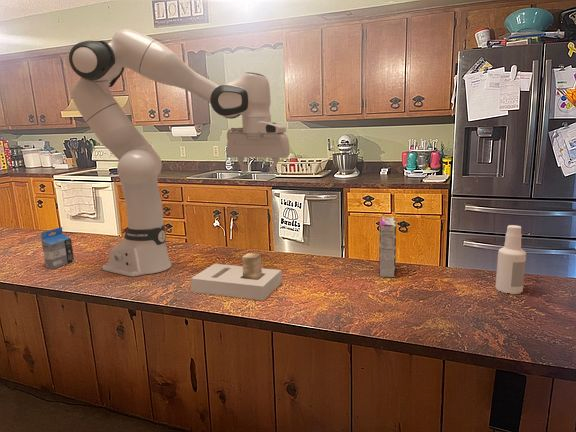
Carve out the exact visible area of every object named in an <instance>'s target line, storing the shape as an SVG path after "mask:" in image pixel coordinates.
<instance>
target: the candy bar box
mask: <svg viewBox="0 0 576 432" xmlns="http://www.w3.org/2000/svg"><path fill="white" fill-rule="evenodd" d="M378 236H379V240H378V244H379V245H378V263H379V264H378V268H379V269H378V273H379V278H392V277H394V278H396V261H397V260H396V257H397V256H396V255H397V253H396V252H397V244H396V243H397V220H396V217H392V216H390V217H389V216H387V217H384V216H382V217H379V234H378Z"/></svg>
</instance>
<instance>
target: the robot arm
mask: <svg viewBox="0 0 576 432" xmlns="http://www.w3.org/2000/svg"><path fill="white" fill-rule="evenodd" d="M68 62H69V66H70V67H71V69H72V70H73V72H74V73H75V74H77V76H79V77H80V79H79V80H78V81H76V82H75V83H74V84H73V86H72V87H71V90H70V96H71V98H72V101H73V104H74V105H75V107H76V108H77V111H78V112H79V114H80V115H81V117H82V119H83V120H84V122H86V124H87V126H88V127H89V128H90V129H91V130H92V133H94V136H96V138H97V139H98V140H99V142H100V143H101V144H102V146H103V147H105V148H107V150H108V151H110V153H111V154H113V155H114V157H115V158H116V159H117V160H118V162H117V168H116V169H117V175H118V176H119V180H120V185H121V189H122V193H123V197H124V202H125V208H126V218H127V227H126V228H124V229H123V228H122V229H120V231H121V234H124V238H123V239H122V240H121V241H119V242H118V243H117V244H116V245H114V247H112V248H111V249H110V251H109V254H108V255H109V256H108V262H106V263H104V264H103V265H102V267H101V270H102V271H104V272H109V273H115V274H118V275H123V276H126V277H127V276H128V277H137V276H142V275H148V274H149V275H151V274H157V273H161V272H163V271H164V272H165V271H166V270H168V269H170V268H171V267H172V262H171V260H170V256H169V253H168V249H167V242H166V239H167V238H166V237H167V235H166V234H167V233H166V225H165V223H164V216H163V215H164V214H163V213H164V212H163V211H164V210H163V202H162V197H161V194H160V189H159V188H160V187H159V181H158V177H159V175H160V174H161V172H162V167H163V162H162V159H161V156H160V155H159V154H158V153H157V152H156V150H155V149H154V148H153V146H152V145H151V144H150V143H149V142H148V140H147V139H146V138H145V137H144V136H143V134H142V133H141V132H140V131H139V130H138V129H137V128H136V127H135V125H134V124H133V123H132V121H131V120H130V118H129V117H128V116H127V114H126V113H125V111H124V110H123V109H122V107H121V106H120V104H119V103H118V101H117V100H116V99H115V97H114V96H113V94H112V93H111V90H110V88H112V87H113V86H114V85H115V84H116V82H117V81H118V79H119V78H120V77H122V75H123V73H124V71H125V69H126V68H127V69H129V70H132V71H133V72H135V73H137V74H139V75H141V76H143V77H144V78H146V79H149V80H151V81H154V82H156V83H159V84H162V85H167V86H170V87H171V86H172V87H176V88H180V89H183V90H185V91H187V92H189V93H192V94H193V95H195V96H197V97H198V98H201V99H202V100H203V101H206V102H208V103H209V104H210V106H211V108H212V110H213V111H214V112H215V113H216V114H217V115H219V116H221V117H223V118H225V119H229V120H230V119H236V118H238V117H240V116H241V117H242V118H241V120H242V121H241V122H242V127H230V129H228V130H227V132H226V139H227V143H226V155H227V156H228V158H237V162H238V165H239V166H240V168H241V173H248V172H249V171H248V167H249V166H248V165H246V164H245V162H244V161H245V159H247V158H250V159H251V158H252V159H254V158H256V159H257V158H261V159H265V158H266V159H267V158H268V159H269V158H271V161H272V165H271V166H268V173H270V174H271V173H276V167H277V165H278V163H279V159H285V158H288V157H289V155H290V152H291V151H290V150H291V149H290V142H289V138H288V135H287V134H286V132H287V127H286V125H282V124H280V123H277V122H273V121H272V116H271V112H270V107H271V88H270V82H269V80H268V78H267V77H266V76H264V75H263V74H260V73H256V72H247V71H246V72H244V73H243V74H241V76H239V77H237V78H236V79H234V80H232V81H230V82H226V83H224V84H221V85H220V84H217V83H215V82H213V81H212V80H211V79H209V78H206V76H205V77H204V76H203V75H201V74H199V73H198V72H197V71H195V70H193V69H192V68H191V67H189V66H188V64H186V63H185V61H184V60H183V59H182V58H181V57H180V56H178V55H177V54H176V53H175V52H174V51H173V50H171V49H170V48H169V47H167V46H166V45H165V44H163V43H162V42H161V41H158V40H157V39H155V38H153V37H150V35H149V36H148V35H147V34H144V33H142V32H139V31H137V30H133V29H130V28H120V29H119V30H118V31H116V32H115V33H114V34H113V36H112V39H111V40H110V41H109V42H107V41H105V40H83V41H80V42H78V43H76V44H75V45H73V46H72V48H71V49H70V51H69V53H68Z"/></svg>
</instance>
